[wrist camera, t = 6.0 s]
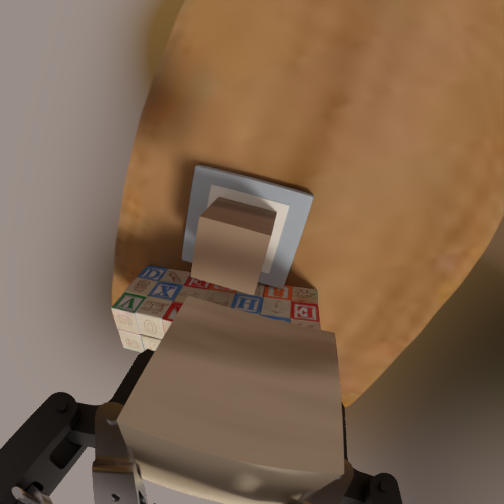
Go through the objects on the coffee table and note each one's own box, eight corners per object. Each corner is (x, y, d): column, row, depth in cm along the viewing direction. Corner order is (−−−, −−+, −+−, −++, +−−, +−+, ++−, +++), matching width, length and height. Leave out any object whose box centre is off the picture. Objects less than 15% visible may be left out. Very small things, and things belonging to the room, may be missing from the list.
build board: (198, 164, 28) (195, 166, 27) (313, 194, 28) (313, 197, 27) (184, 255, 33) (181, 260, 32) (283, 284, 33) (282, 289, 32)
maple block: (188, 295, 11) (116, 420, 6) (334, 333, 11) (344, 473, 5) (181, 383, 14) (141, 477, 8) (290, 411, 13) (279, 511, 8)
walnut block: (218, 196, 28) (199, 216, 23) (277, 212, 28) (271, 236, 23) (209, 248, 31) (190, 276, 26) (262, 263, 31) (254, 295, 25)
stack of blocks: (153, 302, 38) (110, 365, 27) (147, 263, 35) (94, 323, 24) (309, 328, 35) (308, 407, 24) (319, 288, 32) (323, 368, 22)
